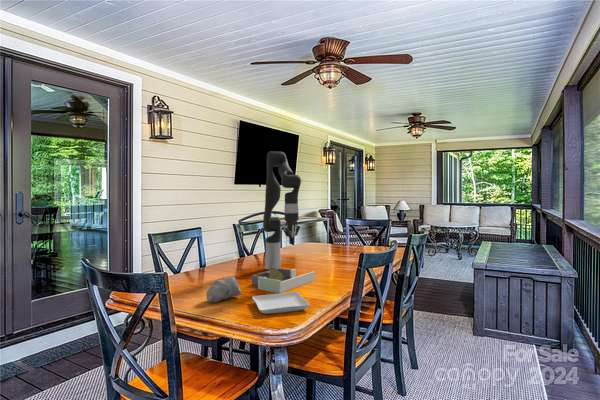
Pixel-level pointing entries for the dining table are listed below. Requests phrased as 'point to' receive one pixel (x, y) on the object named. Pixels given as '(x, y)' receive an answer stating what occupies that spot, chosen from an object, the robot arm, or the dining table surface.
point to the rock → (276, 275)
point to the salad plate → (280, 302)
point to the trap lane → (278, 285)
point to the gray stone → (223, 289)
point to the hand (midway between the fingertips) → (291, 244)
